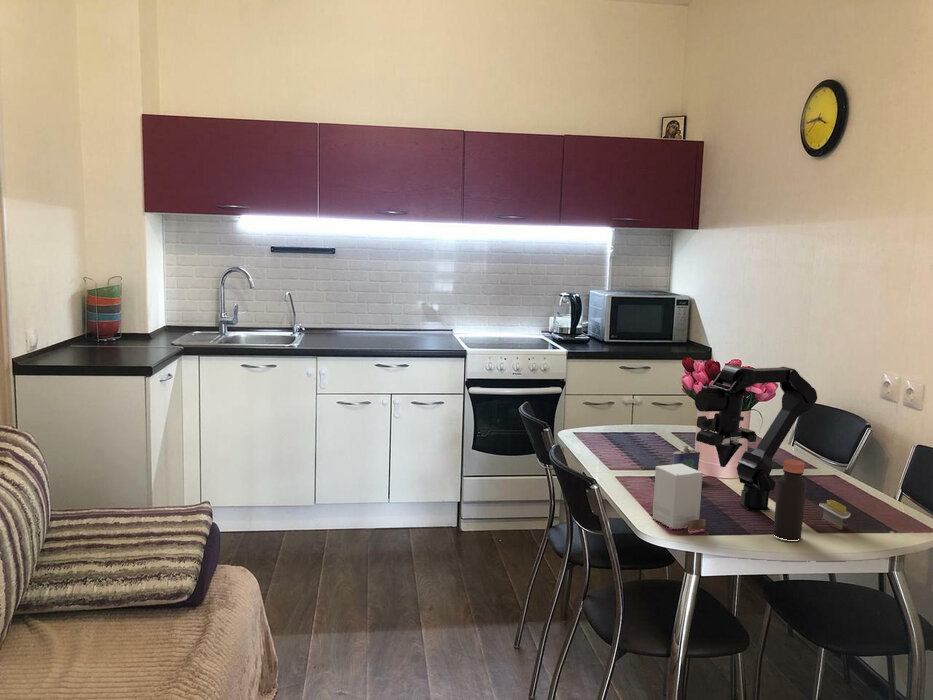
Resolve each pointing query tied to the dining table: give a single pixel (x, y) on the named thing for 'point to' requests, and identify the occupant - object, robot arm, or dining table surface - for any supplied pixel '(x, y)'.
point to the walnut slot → (691, 523)
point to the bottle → (790, 501)
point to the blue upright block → (687, 458)
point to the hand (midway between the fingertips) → (722, 466)
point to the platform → (834, 512)
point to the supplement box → (677, 495)
